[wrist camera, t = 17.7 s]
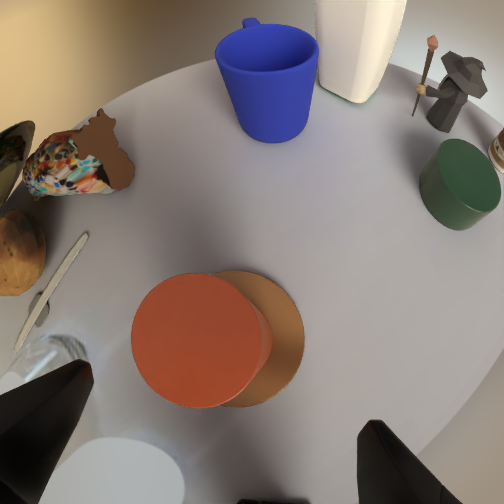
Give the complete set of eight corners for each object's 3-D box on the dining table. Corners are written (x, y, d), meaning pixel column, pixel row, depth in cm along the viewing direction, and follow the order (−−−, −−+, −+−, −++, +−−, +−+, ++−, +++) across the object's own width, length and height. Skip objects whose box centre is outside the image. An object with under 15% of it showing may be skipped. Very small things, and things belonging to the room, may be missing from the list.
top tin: (288, 349, 21) (291, 360, 11) (222, 392, 21) (176, 430, 11) (242, 284, 23) (210, 246, 13) (179, 328, 22) (110, 318, 13)
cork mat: (296, 412, 20) (296, 414, 19) (163, 392, 21) (160, 394, 21) (309, 277, 23) (309, 275, 22) (178, 266, 24) (175, 265, 24)
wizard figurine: (440, 102, 27) (472, 33, 15) (466, 136, 25) (509, 69, 14) (394, 111, 27) (422, 28, 15) (422, 149, 25) (466, 67, 14)
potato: (26, 292, 29) (-1, 240, 27) (79, 251, 26) (46, 186, 24) (-9, 320, 22) (-40, 261, 20) (33, 282, 19) (-6, 202, 17)
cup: (387, 87, 28) (413, -13, 14) (362, 117, 27) (389, -1, 13) (336, 62, 30) (344, -36, 16) (306, 88, 29) (306, -26, 15)
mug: (290, 72, 30) (287, 4, 20) (324, 145, 26) (335, 66, 17) (224, 85, 30) (206, 18, 21) (242, 162, 27) (221, 84, 17)
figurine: (140, 130, 29) (67, 175, 34) (84, 89, 21) (19, 151, 26) (132, 198, 27) (58, 231, 32) (61, 161, 19) (3, 212, 24)
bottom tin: (483, 234, 22) (508, 217, 18) (424, 226, 23) (446, 206, 19) (470, 169, 24) (489, 147, 20) (413, 157, 25) (429, 131, 21)
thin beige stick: (96, 244, 26) (82, 228, 27) (93, 242, 26) (80, 227, 27) (22, 361, 23) (12, 343, 24) (20, 361, 23) (10, 342, 24)
